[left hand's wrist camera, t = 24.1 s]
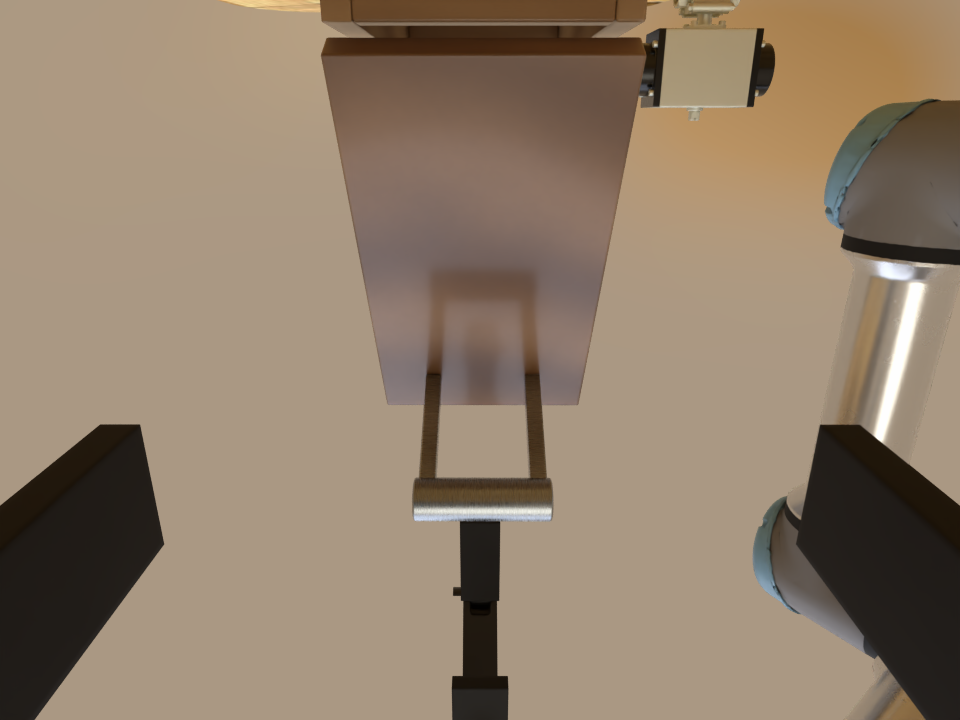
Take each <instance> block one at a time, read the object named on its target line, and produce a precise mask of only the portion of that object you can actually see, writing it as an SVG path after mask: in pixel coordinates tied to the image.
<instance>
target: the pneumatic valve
mask: <svg viewBox="0 0 960 720" xmlns="http://www.w3.org/2000/svg"><path fill="white" fill-rule="evenodd" d="M739 2H740V0H673V5H674V7H675V8H680V9H679V15H681V16H682V18H697V21H691V25H690V26H689V25H688V24H685V25H683V28H660V29H657V30H655V31H653V32H651V33H649V34H647V36H646V43H643V46H644V49H645V52H646V61H645V66H644V71H643V76H642V81H641V86H640V91H639V97H641V108H687V111H689V117H688V120H699V115H700V111H702V110H703V108H739V107H753V106H754V99H755V96H762V95H764V94H765V93H766V91H767V90H768V88H769V86H770V84H771V81H772V77H773V73H774V67H775V52H774V48H773V46H772V45H771V44H770V43H765V41H763V33H764V28H726V21H719V25H716V24H712V25H711V22H712V18H718V17H719V16H720V15H723V14H728V13H729V11H733V9H735V7H737V6H738V4H739Z"/></svg>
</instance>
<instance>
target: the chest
mask: <svg viewBox="0 0 960 720" xmlns="http://www.w3.org/2000/svg"><path fill="white" fill-rule="evenodd" d="M320 6H321V19H322V22H323V23H325V24H327V25H328V26H330V27H332V28H334V29H335V30H337V31H339V32H341V33H342V34H344V35H346V36H347V37H349V38H617V37H619V36H620V35H622V34H624V33H626V32H627V31H629V30H631V29H632V28H634V27H636V26H637V25H639V24H641V23H643V22H644V21H645V19H646V9H647V0H320Z"/></svg>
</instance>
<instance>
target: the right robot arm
mask: <svg viewBox="0 0 960 720" xmlns="http://www.w3.org/2000/svg"><path fill="white" fill-rule="evenodd" d="M824 204H825V205H826V206H827V208H826V210H825V213H826V216H827V219H828V220H829V221H830V223H832V224H833V225H835V226H836V227H837V228H839V229H843V230H844V234H843V238H842V243H841V248H840V250H841V252H842V253H843V254H844V255H845V257H846V258H847V259H848V260H849V262H850V263H851V264H852V267H853V269H854V271H853V275H852V279H851V284H850V288H849V293H848V297H847V302H846V306H845V311H844V315H843V320H842V324H841V329H840V333H839V338H838V342H837V347H836V351H835V356H834V360H833V365H832V369H831V374H830V378H829V382H828V387H827V391H826V396H825V400H824V405H823V409H822V414H821V418H820V423H819V427H820V425H861V426H862V427H863V428H865V429H866V430H867V431H868V432H869V433H871V434H872V435H873V436H874V437H876V438H877V439H878V440H879V441H881V442H882V443H883V444H884V445H886V446H887V447H888V448H889V449H890V450H892V451H893V452H894V453H895V454H897V455H898V456H899V457H900V458H902V459H903V460H904V461H905V462H907V463H908V464H910V461H911V457H912V453H913V450H914V446H915V443H916V439H917V435H918V432H919V428H920V425H921V421H922V418H923V414H924V410H925V407H926V403H927V400H928V396H929V392H930V389H931V385H932V382H933V378H934V375H935V371H936V367H937V364H938V360H939V357H940V353H941V349H942V346H943V342H944V339H945V335H946V332H947V328H948V324H949V321H950V317H951V314H952V310H953V306H954V303H955V300H956V296H957V292H958V289H959V285H960V101H941V100H937V99H935V100H934V99H926V100H922V101H920V102H905V103H892V104H887V105H884V106H881V107H879V108H877V109H875V110H873V111H872V112H870V113H869V114H867V115H866V116H865V117H864V118H863V119H862V120H860V121H859V123H858V124H857V125H856V127H855V128H854V129H853V130H852V131H851V132H850V133H849V134H848V136H847V137H846V139H845V140H844V142H843V144H842V145H841V147H840V149H839V151H838V153H837V155H836V157H835V159H834V162H833V164H832V167H831V170H830V172H829V175H828V179H827V183H826V188H825V196H824ZM819 427H818V432H819ZM818 432H817V436H816V441H815V445H814V450H813V454H812V459H811V463H810V468H809V472H808V477H807V481H806V483H804V484H802V485H799V486H797V487H795V488H793V489H792V490H790V492H789V493H788V496H786V497H782V498H780V499H779V500H777V501H776V502H775V503H773V505H772V506H771V507H770V508H769V509H768V510H767V512H766V514H765V515H764V517H763V525H762V526H761V527H759V528H758V531H757V533H756V537H755V542H754V547H753V567H754V572H755V575H756V578H757V580H758V582H759V584H760V585H761V587H762V588H763V589H764V590H765V591H766V592H767V593H768V594H770V595H771V596H773V597H774V598H776V599H777V600H779V601H780V602H782V603H783V605H784V606H786V607H787V608H788V609H789V610H791V611H793V612H795V613H797V614H802V615H804V616H806V617H807V618H809V619H810V620H812V621H814V622H815V623H817V624H819V625H820V626H822V627H823V628H825V629H827V630H828V631H830V632H831V633H833V634H835V635H836V636H838V637H840V638H841V639H843V640H844V641H846V642H848V643H849V644H851V645H852V646H854V647H856V648H857V649H859V650H861V651H862V652H864V653H865V654H867V655H869V656H871V657H872V658H874V659H875V660H874V662H873V666H872V671H873V676H874V679H875V681H874V682H873V684H872V685H871V686H870V687H869V689H868V690H867V691H866V692H865V694H864V695H863V696H862V697H861V699H860V700H859V701H858V702H857V704H856V705H855V706H854V707H853V709H852V710H851V711H850V712H849V714H848V715H847V716H846V718H845V719H844V720H925V718H924V717H923V716H922V714H921V713H920V712H919V710H918V709H917V708H916V706H915V705H914V704H913V702H912V701H911V699H910V698H909V697H908V695H907V694H906V693H905V691H904V690H903V689H902V687H901V686H900V685H899V683H898V682H897V681H896V679H895V678H894V676H893V675H892V674H891V672H890V671H889V670H888V668H887V667H886V666H885V664H884V663H883V662H882V660H881V659H880V658H879V656H878V655H877V653H876V652H875V651H874V649H873V648H872V647H871V645H870V644H869V643H868V641H867V640H866V639H865V637H864V636H863V635H862V633H861V632H860V630H859V629H858V628H857V626H856V625H855V624H854V622H853V621H852V620H851V618H850V617H849V616H848V614H847V613H846V612H845V610H844V609H843V607H842V606H841V605H840V603H839V602H838V601H837V599H836V598H835V597H834V595H833V594H832V593H831V591H830V590H829V588H828V587H827V586H826V584H825V583H824V582H823V580H822V579H821V578H820V576H819V575H818V574H817V572H816V571H815V570H814V568H813V567H812V565H811V564H810V563H809V561H808V560H807V559H806V557H805V556H804V555H803V553H802V552H801V551H800V549H799V548H798V547H797V545H796V541H797V536H798V531H799V526H800V521H801V516H802V511H803V506H804V501H805V496H806V491H807V486H808V481H809V477H810V472H811V467H812V462H813V457H814V452H815V447H816V442H817V437H818ZM460 558H461V587H454V588H453V596H461V601H463V676H453V677H452V720H508V676H497V601H499V572H500V521H460Z"/></svg>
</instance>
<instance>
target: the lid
mask: <svg viewBox="0 0 960 720" xmlns="http://www.w3.org/2000/svg"><path fill="white" fill-rule="evenodd" d="M321 58H322V64H323V68H324V74H325V79H326V84H327V90H328V95H329V100H330V105H331V111H332V116H333V121H334V126H335V131H336V137H337V142H338V147H339V153H340V158H341V163H342V168H343V173H344V179H345V184H346V189H347V194H348V200H349V205H350V210H351V215H352V221H353V226H354V231H355V236H356V241H357V247H358V252H359V257H360V263H361V268H362V273H363V278H364V283H365V289H366V294H367V299H368V304H369V310H370V315H371V320H372V325H373V331H374V336H375V341H376V346H377V351H378V357H379V362H380V367H381V372H382V378H383V383H384V388H385V393H386V399H387V403H388V405H424V412H423V426H422V440H421V454H420V468H419V478H415V480H414V483H413V494H412V512H413V519H414V521H551V520H552V517H553V487H552V481H551V479H550V478H547V473H546V459H545V444H544V430H543V415H542V405H578V403H579V398H580V393H581V388H582V382H583V377H584V372H585V367H586V362H587V357H588V352H589V347H590V342H591V336H592V331H593V326H594V321H595V316H596V311H597V306H598V301H599V295H600V290H601V285H602V280H603V275H604V270H605V265H606V260H607V255H608V249H609V244H610V239H611V234H612V229H613V224H614V219H615V214H616V209H617V204H618V198H619V193H620V188H621V183H622V178H623V173H624V168H625V163H626V158H627V152H628V147H629V142H630V137H631V132H632V127H633V122H634V117H635V112H636V106H637V101H638V96H639V91H640V86H641V81H642V76H643V71H644V66H645V61H646V52H645V49H644V46H643V43H642V40H641V38H327V39H326V42H325V44H324V48H323V51H322V53H321ZM440 405H525V412H526V432H527V452H528V472H529V478H437V462H438V443H439V423H440Z"/></svg>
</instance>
